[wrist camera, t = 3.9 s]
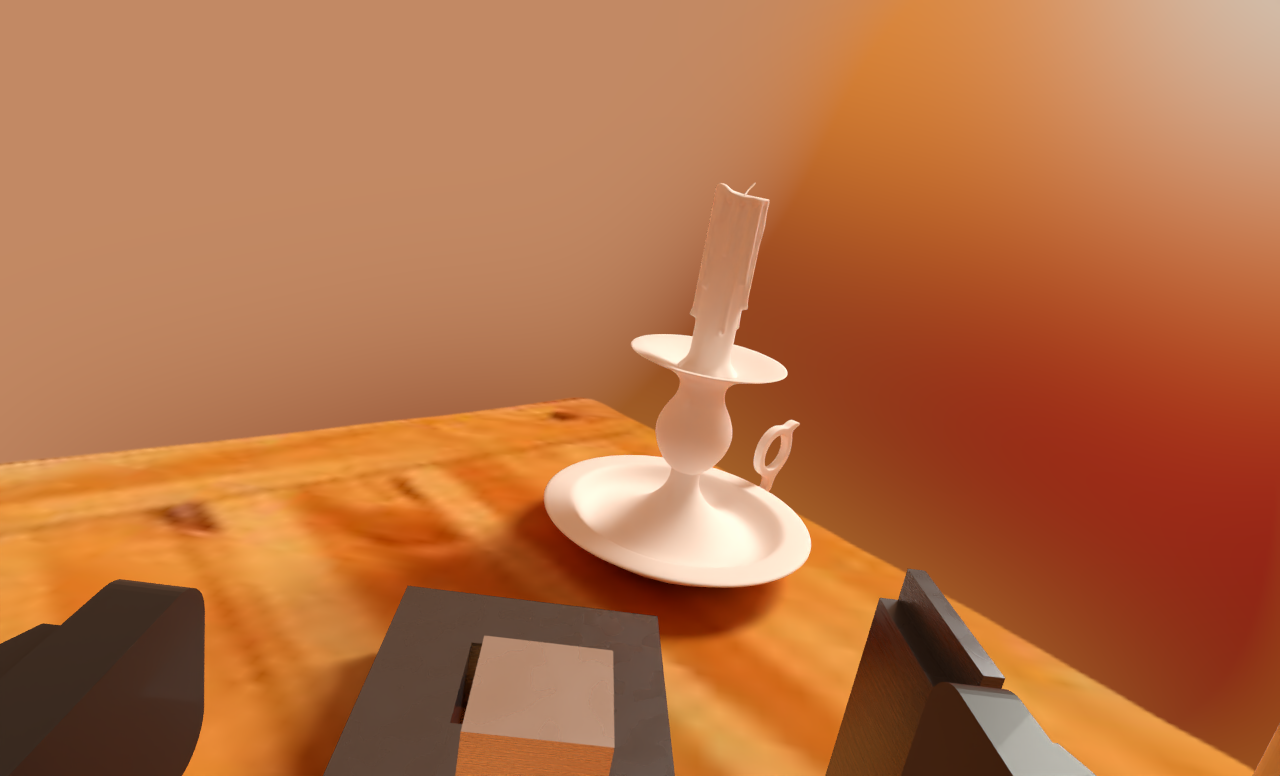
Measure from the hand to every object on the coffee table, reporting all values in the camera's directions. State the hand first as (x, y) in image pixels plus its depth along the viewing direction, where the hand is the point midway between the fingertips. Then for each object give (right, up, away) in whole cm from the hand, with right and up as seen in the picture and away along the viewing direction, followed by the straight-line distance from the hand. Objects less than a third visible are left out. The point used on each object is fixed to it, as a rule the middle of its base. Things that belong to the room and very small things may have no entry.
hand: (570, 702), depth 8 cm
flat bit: (+11, -18, +26) cm, 33 cm away
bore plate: (-6, -14, +29) cm, 33 cm away
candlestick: (+5, -9, +53) cm, 54 cm away
